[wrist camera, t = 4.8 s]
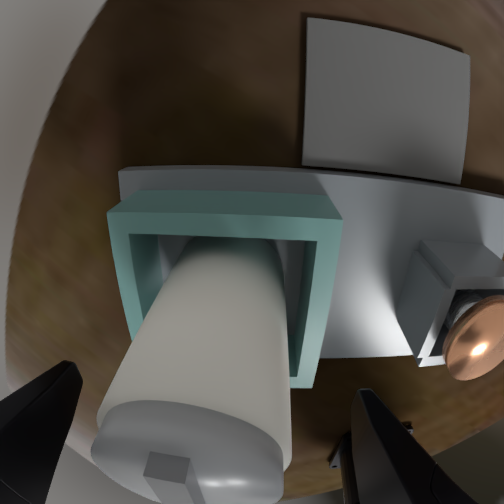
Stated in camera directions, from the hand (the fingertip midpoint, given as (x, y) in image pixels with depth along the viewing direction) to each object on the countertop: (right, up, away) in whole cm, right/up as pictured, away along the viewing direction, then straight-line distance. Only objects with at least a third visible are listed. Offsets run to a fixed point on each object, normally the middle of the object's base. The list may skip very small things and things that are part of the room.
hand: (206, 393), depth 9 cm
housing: (+5, +3, +7) cm, 9 cm away
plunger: (+11, +2, +6) cm, 13 cm away
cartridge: (0, +3, +6) cm, 7 cm away
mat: (+8, +11, +3) cm, 14 cm away
